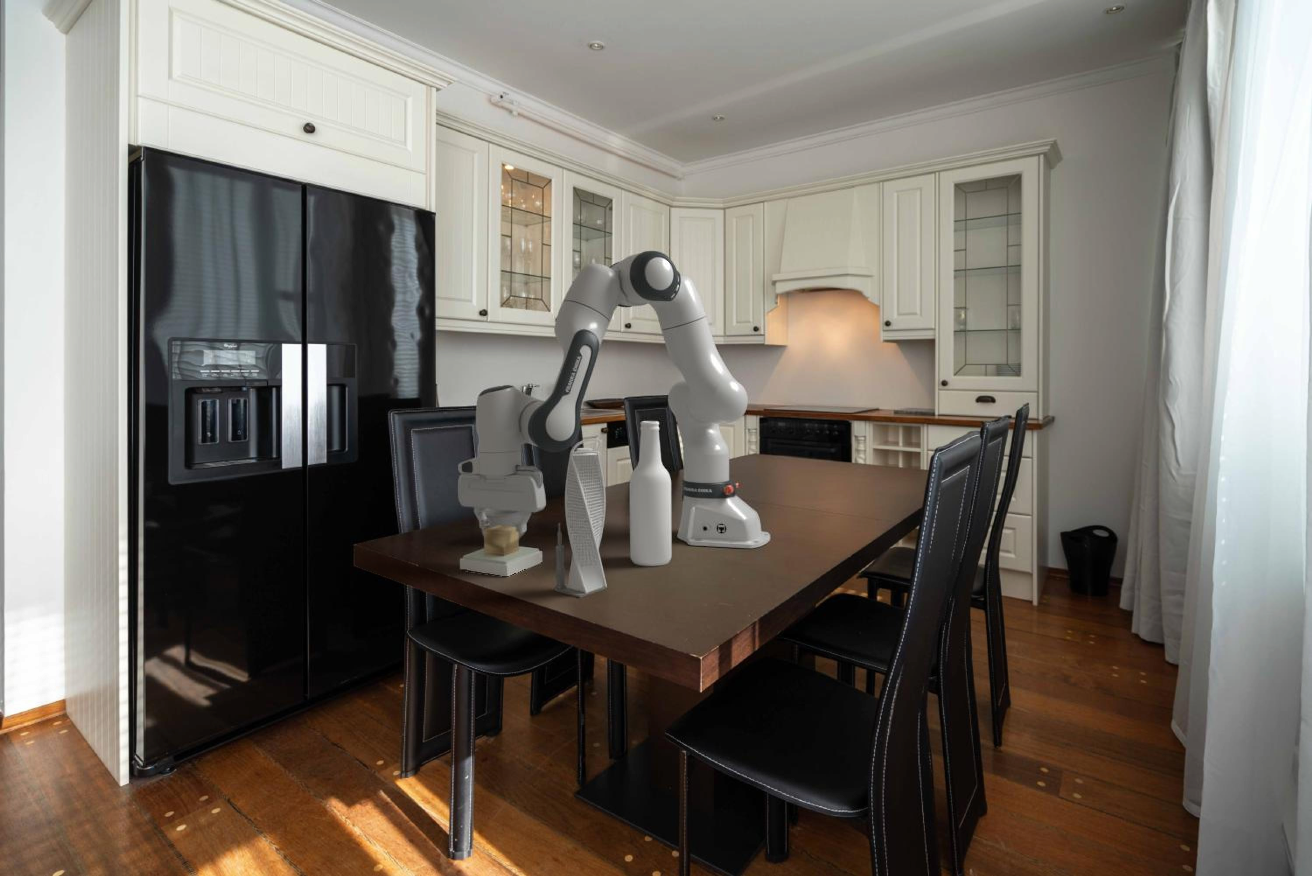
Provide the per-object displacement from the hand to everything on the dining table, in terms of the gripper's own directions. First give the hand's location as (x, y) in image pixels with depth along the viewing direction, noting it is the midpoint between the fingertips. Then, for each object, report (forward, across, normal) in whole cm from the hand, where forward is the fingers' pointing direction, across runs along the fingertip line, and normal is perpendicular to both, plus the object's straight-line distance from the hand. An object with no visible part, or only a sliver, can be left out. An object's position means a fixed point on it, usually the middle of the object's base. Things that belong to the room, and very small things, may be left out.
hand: (502, 529), depth 143 cm
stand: (+8, 0, 0) cm, 8 cm away
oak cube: (+5, 0, 0) cm, 5 cm away
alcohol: (+8, -27, -16) cm, 32 cm away
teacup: (+8, +14, -19) cm, 25 cm away
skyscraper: (+8, -24, +6) cm, 26 cm away
